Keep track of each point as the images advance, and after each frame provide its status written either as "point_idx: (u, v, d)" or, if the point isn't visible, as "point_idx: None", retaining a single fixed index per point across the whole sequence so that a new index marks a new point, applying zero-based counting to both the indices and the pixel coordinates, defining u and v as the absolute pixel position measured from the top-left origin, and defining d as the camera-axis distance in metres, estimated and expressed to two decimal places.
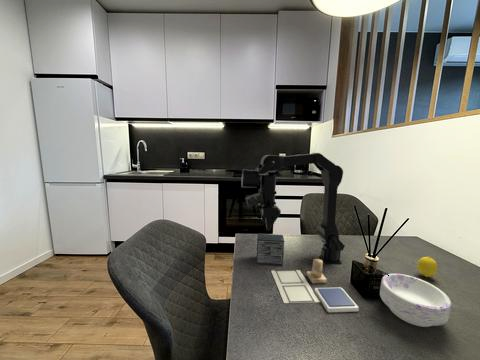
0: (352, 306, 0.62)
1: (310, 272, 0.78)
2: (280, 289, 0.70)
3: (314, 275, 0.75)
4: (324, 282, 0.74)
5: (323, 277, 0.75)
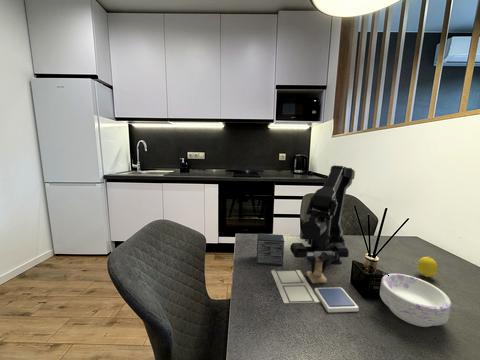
0: (352, 306, 0.62)
1: (310, 272, 0.78)
2: (280, 289, 0.70)
3: (314, 275, 0.75)
4: (324, 282, 0.74)
5: (323, 277, 0.75)
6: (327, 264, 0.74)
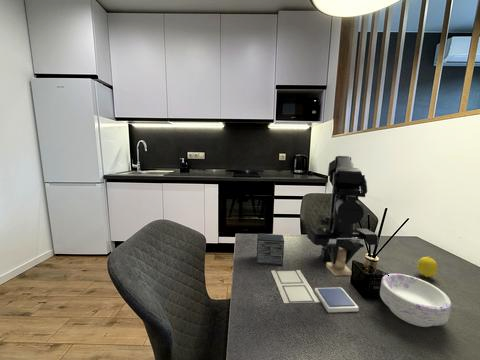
0: (352, 306, 0.62)
1: (330, 263, 0.66)
2: (280, 289, 0.70)
3: (336, 266, 0.63)
4: (348, 275, 0.62)
5: (347, 269, 0.63)
6: (352, 253, 0.62)
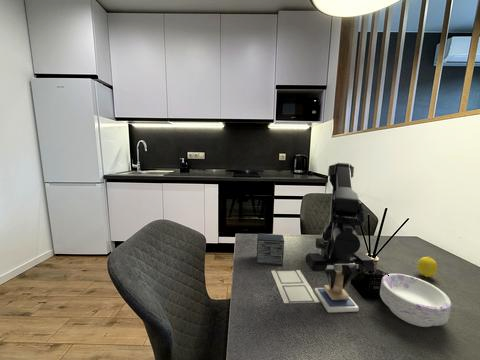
0: (352, 306, 0.62)
1: (328, 286, 0.67)
2: (280, 289, 0.70)
3: (334, 290, 0.64)
4: (346, 299, 0.63)
5: (345, 293, 0.64)
6: (349, 279, 0.63)
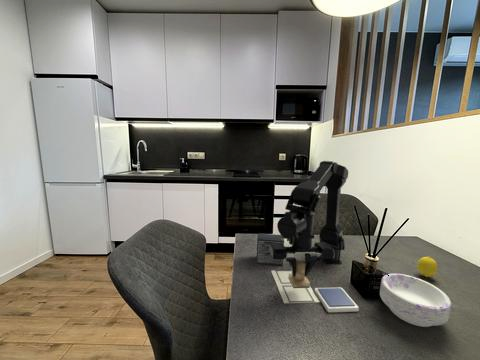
0: (352, 306, 0.62)
1: None
2: (280, 289, 0.70)
3: (296, 278, 0.66)
4: (307, 286, 0.65)
5: (306, 280, 0.66)
6: (310, 267, 0.65)
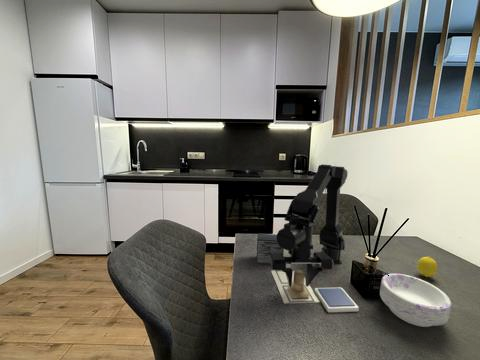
0: (352, 306, 0.62)
1: (291, 285, 0.70)
2: (280, 289, 0.70)
3: (295, 289, 0.67)
4: (306, 297, 0.66)
5: (305, 291, 0.67)
6: (312, 277, 0.66)
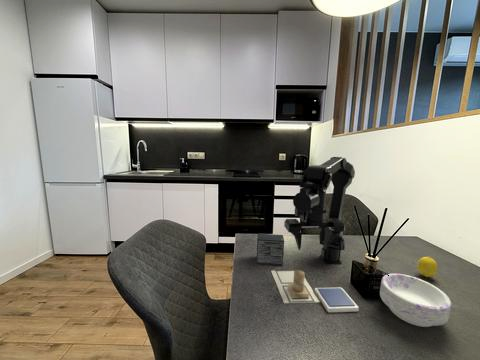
0: (352, 306, 0.62)
1: (291, 285, 0.70)
2: (280, 289, 0.70)
3: (295, 289, 0.67)
4: (306, 297, 0.66)
5: (305, 291, 0.67)
6: (331, 239, 0.71)
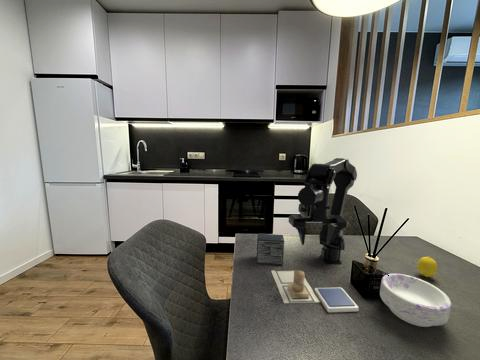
0: (352, 306, 0.62)
1: (291, 285, 0.70)
2: (280, 289, 0.70)
3: (295, 289, 0.67)
4: (306, 297, 0.66)
5: (305, 291, 0.67)
6: (333, 235, 0.73)
